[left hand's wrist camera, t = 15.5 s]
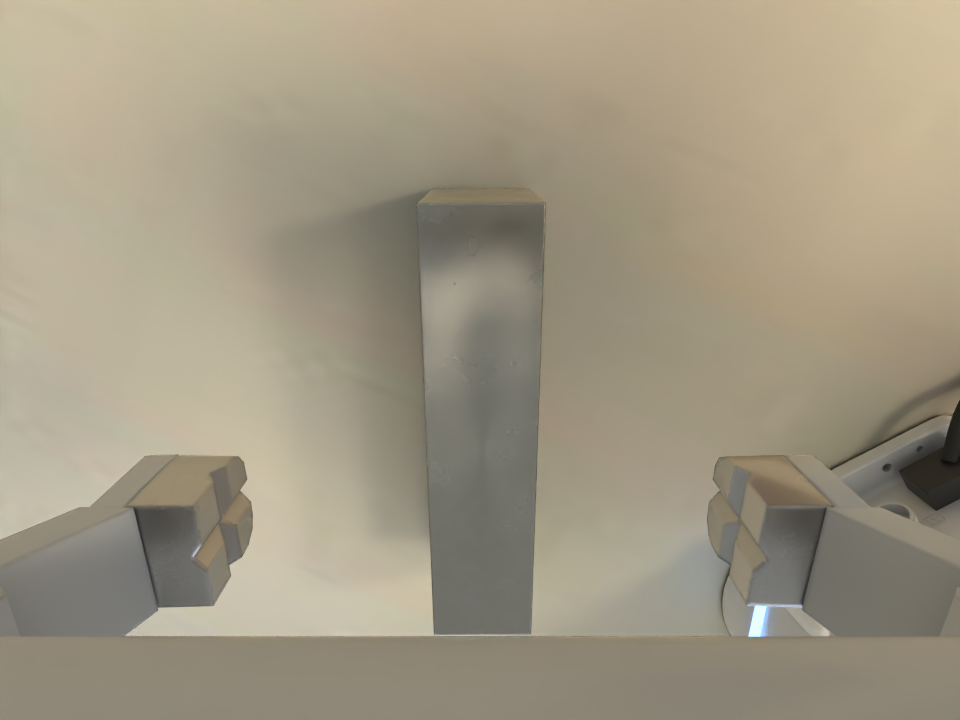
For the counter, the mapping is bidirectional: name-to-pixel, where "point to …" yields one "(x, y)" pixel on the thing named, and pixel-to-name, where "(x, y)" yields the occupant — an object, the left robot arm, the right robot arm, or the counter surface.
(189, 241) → the counter surface
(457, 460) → the bar
